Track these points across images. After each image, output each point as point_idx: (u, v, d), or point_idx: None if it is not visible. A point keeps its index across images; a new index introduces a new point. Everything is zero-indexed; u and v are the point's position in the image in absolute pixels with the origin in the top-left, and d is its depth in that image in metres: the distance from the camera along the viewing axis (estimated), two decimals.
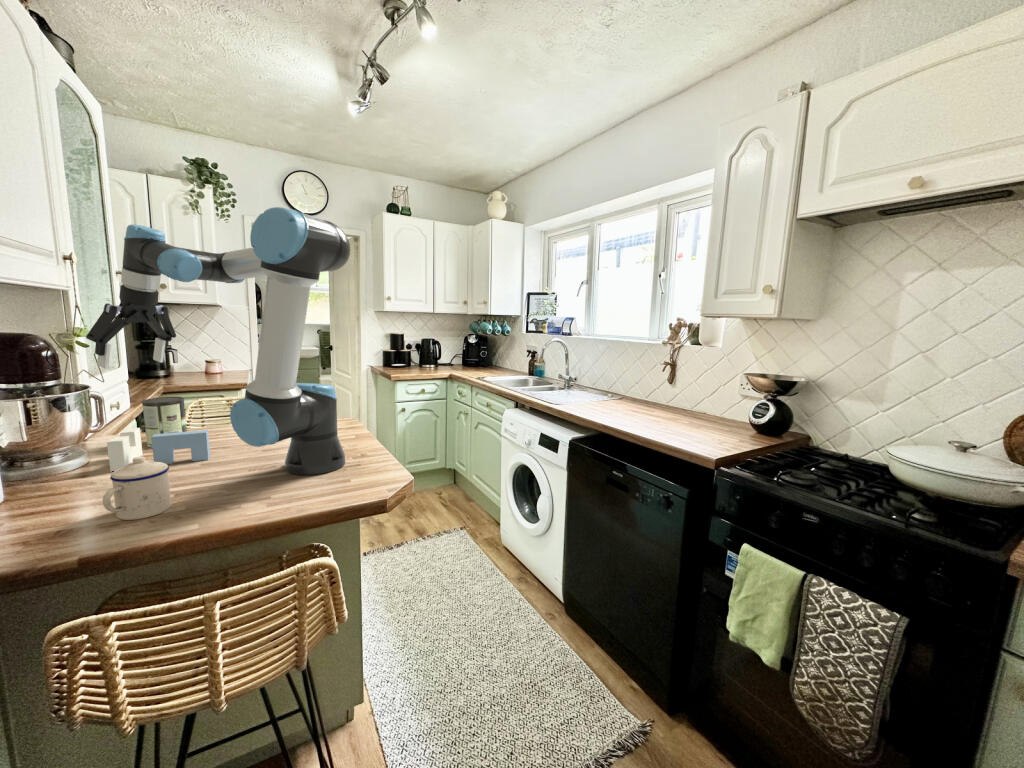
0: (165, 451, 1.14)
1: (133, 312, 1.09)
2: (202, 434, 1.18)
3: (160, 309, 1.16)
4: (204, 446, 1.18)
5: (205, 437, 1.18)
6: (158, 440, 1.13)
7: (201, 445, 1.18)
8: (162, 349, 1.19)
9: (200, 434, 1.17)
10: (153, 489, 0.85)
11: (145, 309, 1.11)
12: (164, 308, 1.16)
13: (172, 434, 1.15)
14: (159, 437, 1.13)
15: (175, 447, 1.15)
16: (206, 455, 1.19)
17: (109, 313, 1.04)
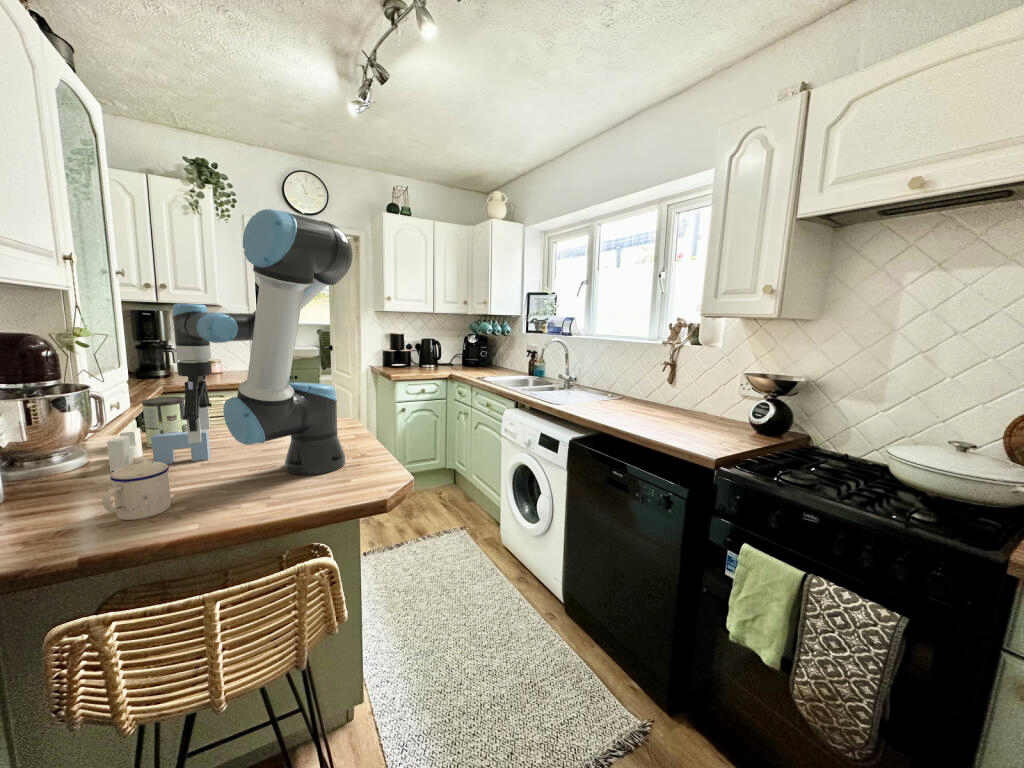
0: (165, 451, 1.14)
1: (199, 384, 1.15)
2: (202, 434, 1.18)
3: None
4: (204, 446, 1.18)
5: (205, 437, 1.18)
6: (158, 440, 1.13)
7: (201, 445, 1.18)
8: (208, 416, 1.25)
9: None
10: (153, 489, 0.85)
11: (201, 380, 1.18)
12: (204, 376, 1.22)
13: (172, 434, 1.15)
14: (159, 437, 1.13)
15: (175, 447, 1.15)
16: (206, 455, 1.19)
17: (194, 389, 1.11)
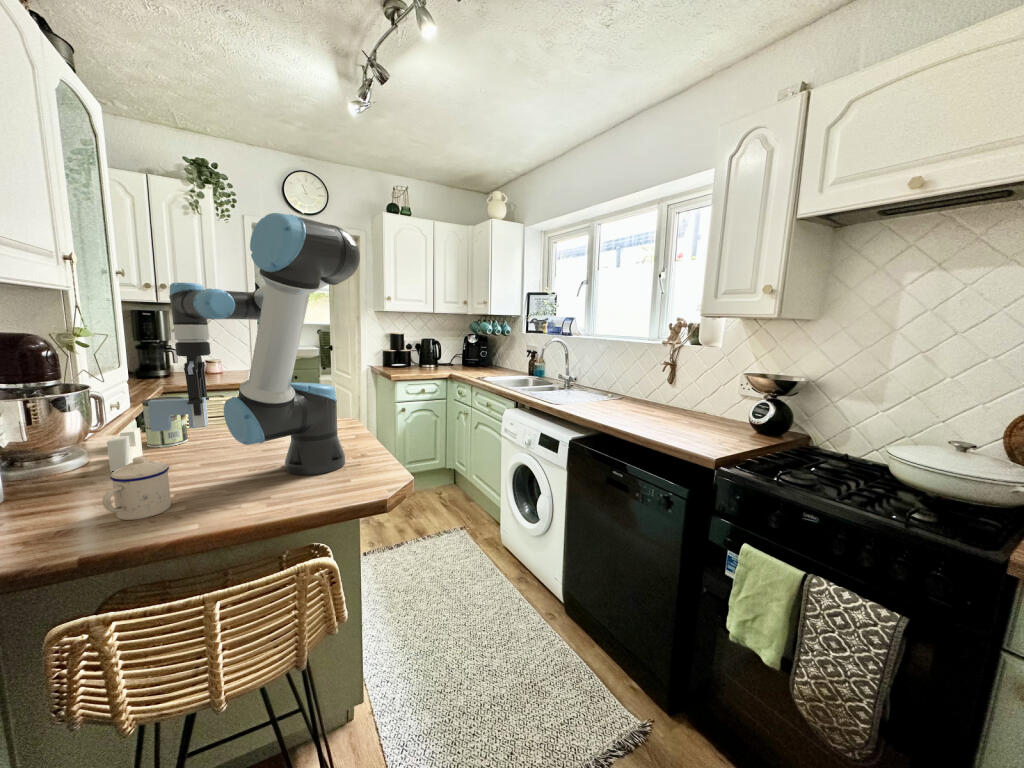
0: (162, 417, 1.13)
1: (198, 365, 1.15)
2: None
3: None
4: None
5: None
6: (155, 406, 1.12)
7: None
8: None
9: None
10: (153, 489, 0.85)
11: (200, 357, 1.17)
12: None
13: (169, 400, 1.14)
14: (156, 402, 1.12)
15: (172, 413, 1.14)
16: None
17: (194, 374, 1.11)
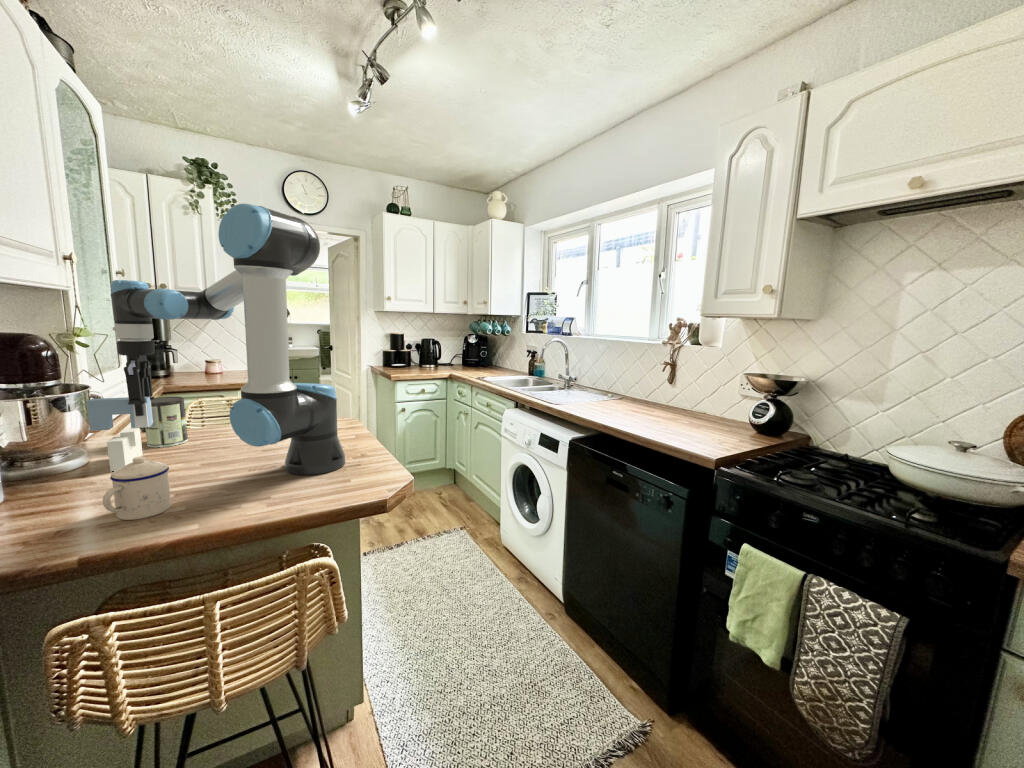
0: (102, 416, 1.11)
1: (141, 365, 1.12)
2: None
3: None
4: None
5: None
6: (94, 405, 1.09)
7: None
8: None
9: None
10: (153, 489, 0.85)
11: (144, 356, 1.15)
12: (149, 362, 1.19)
13: (110, 399, 1.11)
14: (95, 401, 1.09)
15: (113, 412, 1.11)
16: None
17: (135, 374, 1.09)
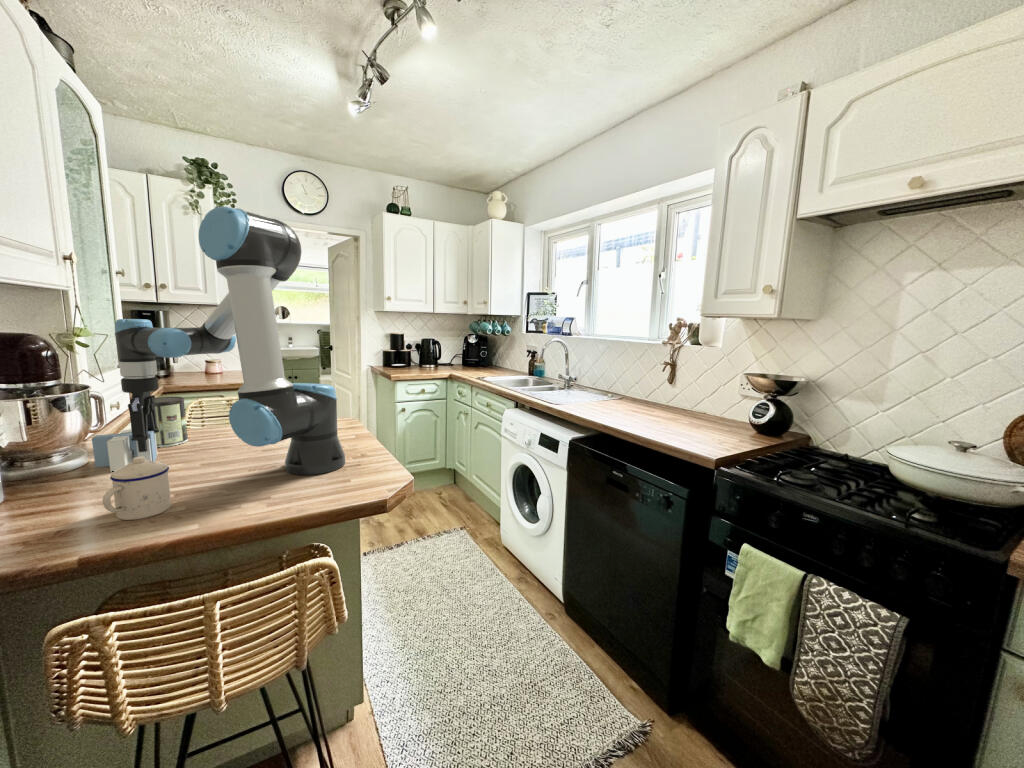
0: (107, 453, 1.12)
1: (145, 401, 1.14)
2: None
3: None
4: None
5: (149, 438, 1.16)
6: (99, 442, 1.11)
7: None
8: (155, 442, 1.20)
9: None
10: (153, 489, 0.85)
11: (148, 392, 1.16)
12: (153, 396, 1.20)
13: (114, 435, 1.13)
14: (100, 438, 1.11)
15: None
16: (151, 456, 1.16)
17: (139, 411, 1.10)
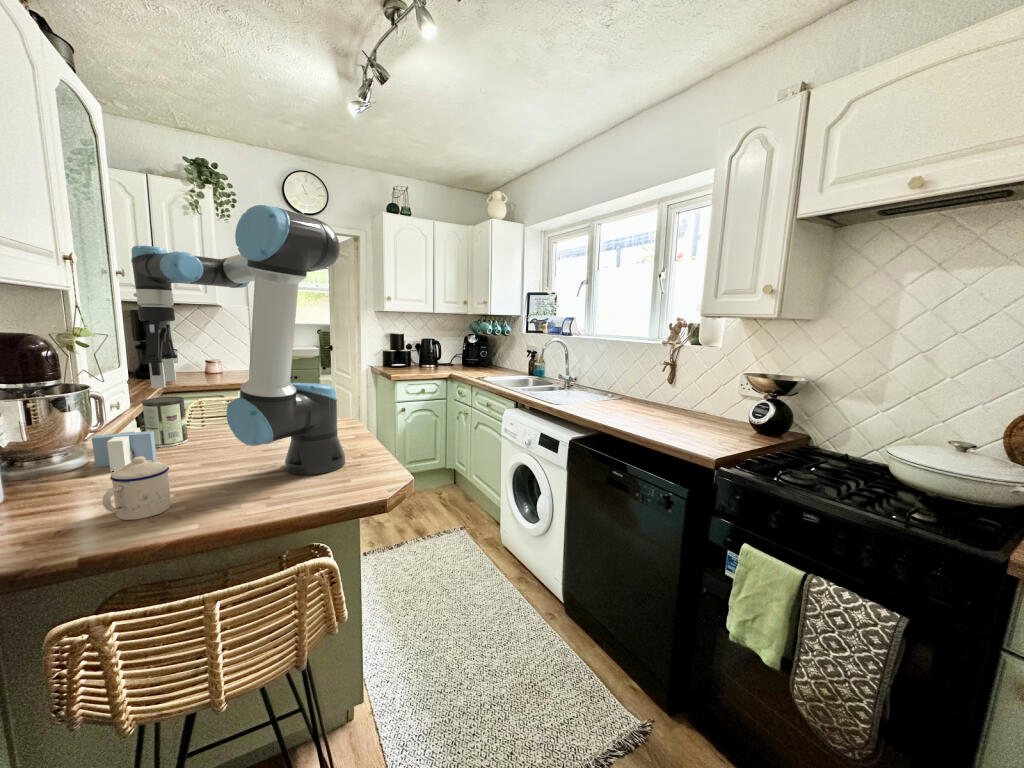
0: (107, 453, 1.12)
1: (162, 330, 1.13)
2: (146, 435, 1.15)
3: (165, 327, 1.19)
4: (149, 447, 1.16)
5: (149, 438, 1.16)
6: (99, 442, 1.11)
7: (145, 446, 1.15)
8: (174, 367, 1.22)
9: (144, 435, 1.15)
10: (153, 489, 0.85)
11: (164, 327, 1.16)
12: (168, 325, 1.20)
13: (114, 435, 1.13)
14: (100, 438, 1.11)
15: None
16: (151, 456, 1.16)
17: (156, 332, 1.09)
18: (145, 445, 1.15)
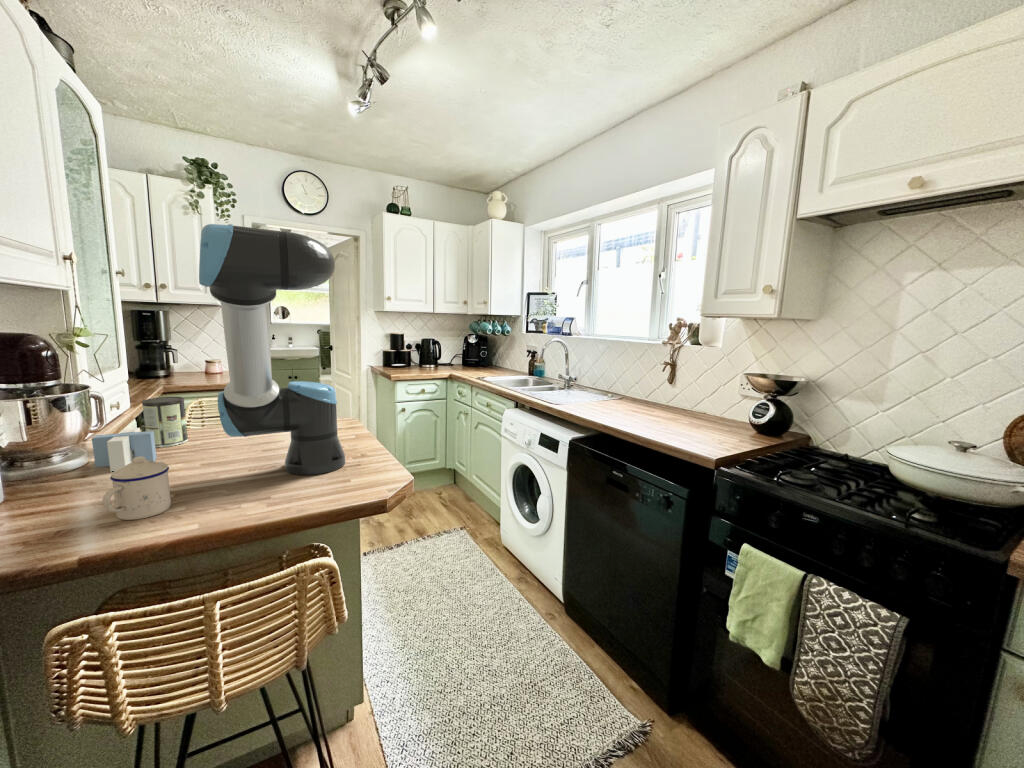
0: (107, 453, 1.12)
1: None
2: (146, 435, 1.15)
3: None
4: (149, 447, 1.16)
5: (149, 438, 1.16)
6: (99, 442, 1.11)
7: (145, 446, 1.15)
8: None
9: (144, 435, 1.15)
10: (153, 489, 0.85)
11: None
12: None
13: (114, 435, 1.13)
14: (100, 438, 1.11)
15: None
16: (151, 456, 1.16)
17: None
18: (145, 445, 1.15)
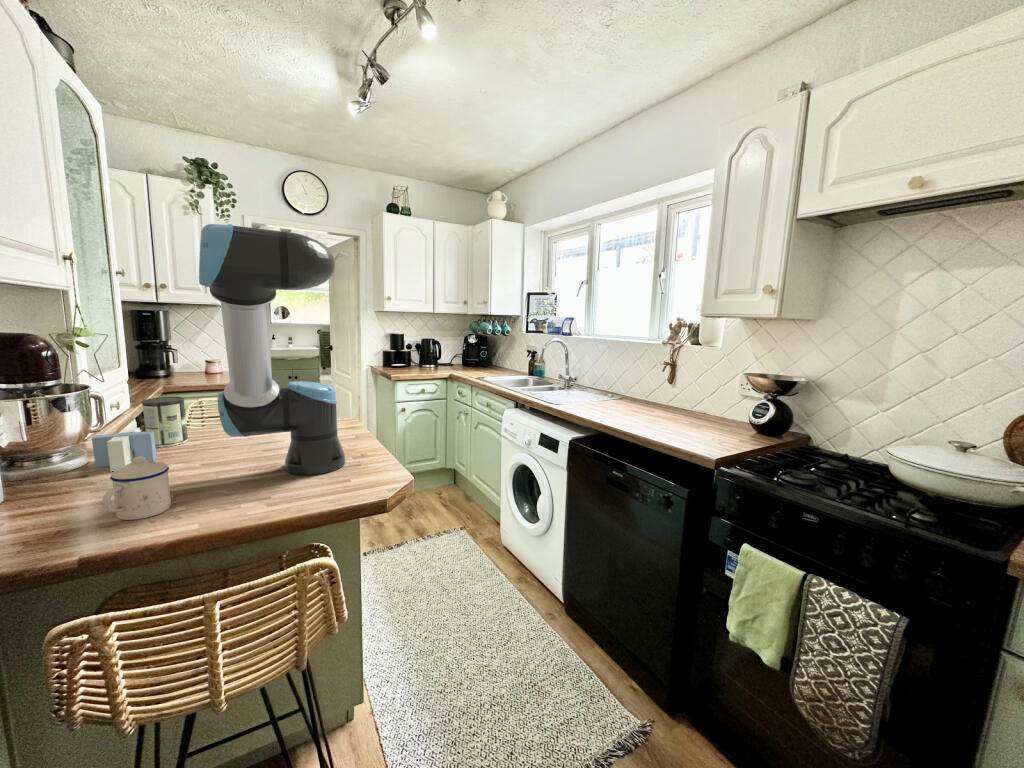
0: (107, 453, 1.12)
1: None
2: (146, 435, 1.15)
3: None
4: (149, 447, 1.16)
5: (149, 438, 1.16)
6: (99, 442, 1.11)
7: (145, 446, 1.15)
8: None
9: (144, 435, 1.15)
10: (153, 489, 0.85)
11: None
12: None
13: (114, 435, 1.13)
14: (100, 438, 1.11)
15: None
16: (151, 456, 1.16)
17: None
18: (145, 445, 1.15)
